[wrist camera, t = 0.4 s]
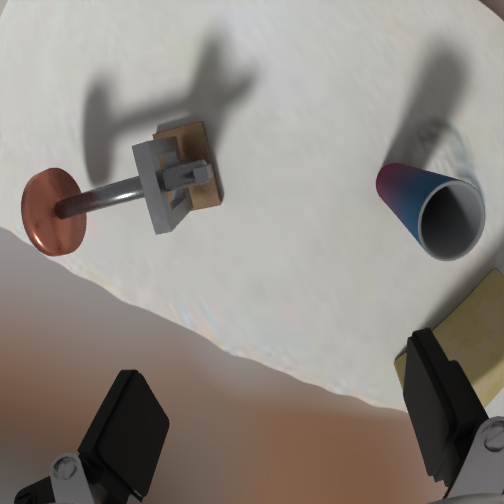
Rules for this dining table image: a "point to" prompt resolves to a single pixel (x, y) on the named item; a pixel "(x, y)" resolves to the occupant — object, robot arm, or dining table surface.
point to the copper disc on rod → (85, 203)
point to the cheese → (475, 338)
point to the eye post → (169, 155)
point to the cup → (434, 209)
